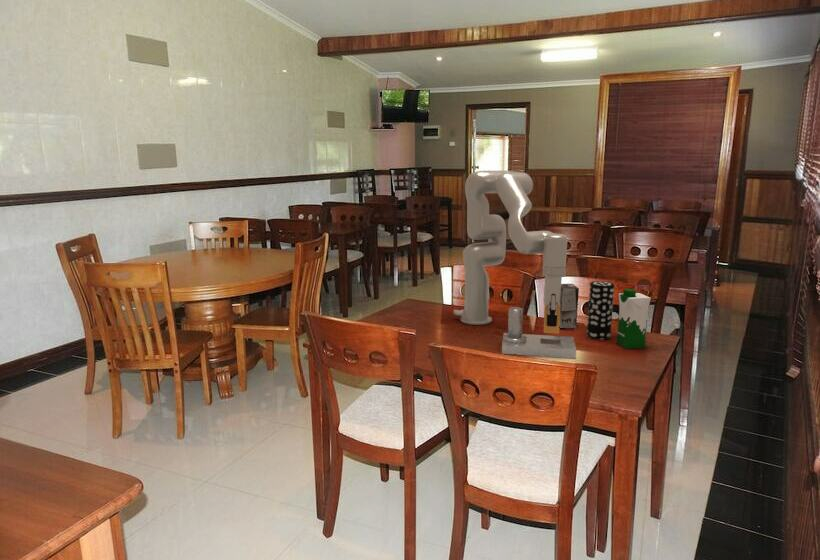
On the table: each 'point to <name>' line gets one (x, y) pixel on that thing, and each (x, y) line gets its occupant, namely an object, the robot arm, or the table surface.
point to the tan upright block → (551, 328)
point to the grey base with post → (534, 340)
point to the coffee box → (568, 305)
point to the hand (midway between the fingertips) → (551, 323)
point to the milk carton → (632, 319)
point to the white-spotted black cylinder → (600, 310)
